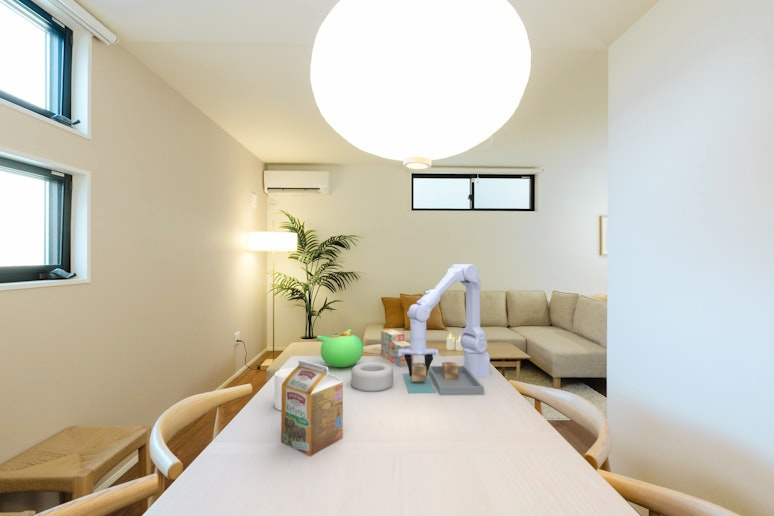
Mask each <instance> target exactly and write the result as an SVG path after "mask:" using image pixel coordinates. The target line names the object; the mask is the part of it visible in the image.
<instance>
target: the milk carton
mask: <svg viewBox="0 0 774 516" xmlns="http://www.w3.org/2000/svg"><path fill="white" fill-rule="evenodd" d="M294 368H295V367H294ZM343 408H344V382H343V380H342V379H341V378H339V377H337V376H336V375H333V374H331V373H329V367H328V366H324V365H321V364H318V363H317V364H316V363H313V362H310V361H309V362H308V361H305V360H302V359H299V360H298V365H297V366H296V368H295V369H294V370H293V371H292V372H291V373H290V375H289V376H288V377H287V378H286V379H285V381H284V382H283V384H282V410H281V411H280V412H281V415H280V417H281V422H280V425H281V426H280V427H281V429H280V431H281V436H280V437H281V438H280V443H282V444H284V445H286V446H287V447H290V448H292V449H294V450H295V451H298V452H300V453H301V454H304V455H306V456H308V457H312V456H314V455H315V454H316V455H317V453H319V452H321V451H323V450H325V449H326V448H328V447H330V446H331V445H333V444H335V443H337V442H339V441H340V440H342V439H343V435H344V434H343V432H344V430H343V429H344V427H343V426H344V425H343V421H344V419H343V418H344V409H343Z"/></svg>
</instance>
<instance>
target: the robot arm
mask: <svg viewBox="0 0 774 516" xmlns="http://www.w3.org/2000/svg"><path fill="white" fill-rule="evenodd" d="M458 282H459V283H461V284H462V285H463V286H464V287H465V293H466V294H465V327H464V328H463V329H462V330H461V337H460V339H459V343H460V345H461V347H462V350H463V354H464V355H463V359H464V360H463V361H464V363H463V364H464V365H463V366H465V367H466V368H467V369H468V370H469V371H470V372H471V373H472V374H473V375H474V377H491V374H490V369H491V368H490V366H491V365H490V364H491V361H490V360H491V359H490V355H489V352H488V351H486V349H487V348H488V340H487V337H486V332H485V331H484V330H483V328H482V327H481V280H480V278H479V268H478V267H477V266H476V265H475V264H472V263H454V264H451V266H450V267H449V268H448V269H447V272H446V274H445V275H444V276H443V277H442V279H441V280H440V281H439V282H438V283H437V285H436V286H435V287H434V288H433V289H428V290H425V292H424V295H422V296H421V298H420V299H418V300H417V301H416V303H414V304H413V303H412V304H411V305H410V307H409V308H408V311H407V313H406V315H407V317H408V318H409V324H410V328H409V329H410V334H409V335H410V339H409V340H410V342H409V343H410V349H398V356H401V355H404V357H405V360H406V362H407V365H408V366H407V367H408V368H407V369H408V373H409V375H410V376H412V358H411V355H413V356H423V357H424V364H425V366H426V376H428V375H429V373H428V371H429V366H431V363H432V362H433V360H434V356H435V357H436V356H437V357H439V351H440V350H439V349H438V348H427V320H428V319H429V318H430V315H431V312H432V310H433V309H434V308H435V307H436V306H437V305H438V303H440V302H441V299H442V298H441V296H442V295H443V294H444V293H445V292H446V291H447V290H448V289H449V288H450V287H451V286H452V285H453V284H454V283H458Z"/></svg>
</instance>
